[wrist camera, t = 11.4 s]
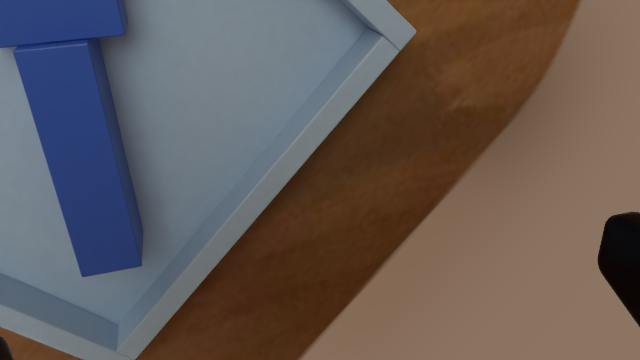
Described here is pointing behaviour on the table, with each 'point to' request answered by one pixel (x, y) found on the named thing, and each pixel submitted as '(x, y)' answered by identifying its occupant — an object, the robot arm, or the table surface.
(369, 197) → the table surface
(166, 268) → the blue tray
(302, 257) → the table surface
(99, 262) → the blue stepped bar
